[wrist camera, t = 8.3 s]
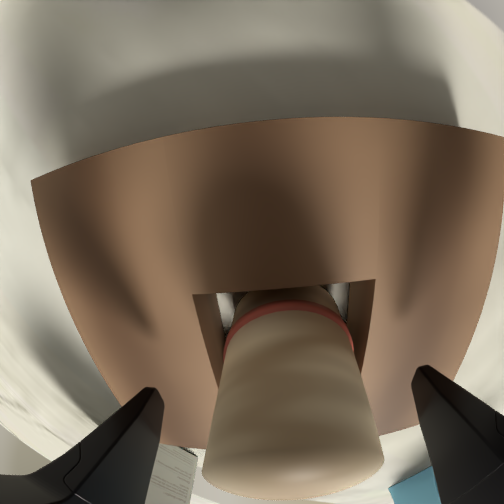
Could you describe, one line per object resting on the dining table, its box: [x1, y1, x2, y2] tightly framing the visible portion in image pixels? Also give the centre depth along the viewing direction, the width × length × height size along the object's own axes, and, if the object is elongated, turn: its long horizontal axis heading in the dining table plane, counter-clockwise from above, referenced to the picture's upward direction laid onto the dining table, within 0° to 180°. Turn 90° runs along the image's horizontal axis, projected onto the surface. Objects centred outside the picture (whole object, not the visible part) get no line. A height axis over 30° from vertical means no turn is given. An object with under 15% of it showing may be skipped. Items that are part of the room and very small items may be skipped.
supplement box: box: [145, 443, 198, 504], centre depth 13 cm, size 7×7×13 cm
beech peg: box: [202, 285, 384, 500], centre depth 9 cm, size 5×5×8 cm
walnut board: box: [31, 117, 504, 449], centre depth 11 cm, size 18×16×3 cm
